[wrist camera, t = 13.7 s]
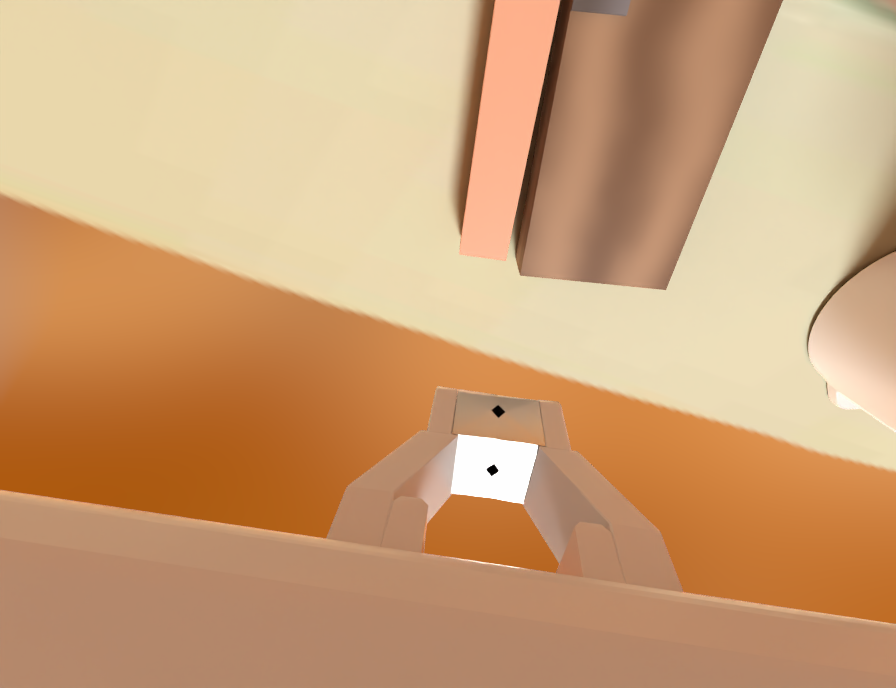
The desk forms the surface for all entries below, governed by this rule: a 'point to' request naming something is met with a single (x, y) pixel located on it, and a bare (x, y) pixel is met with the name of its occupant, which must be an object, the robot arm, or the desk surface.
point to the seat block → (634, 133)
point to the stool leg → (506, 122)
